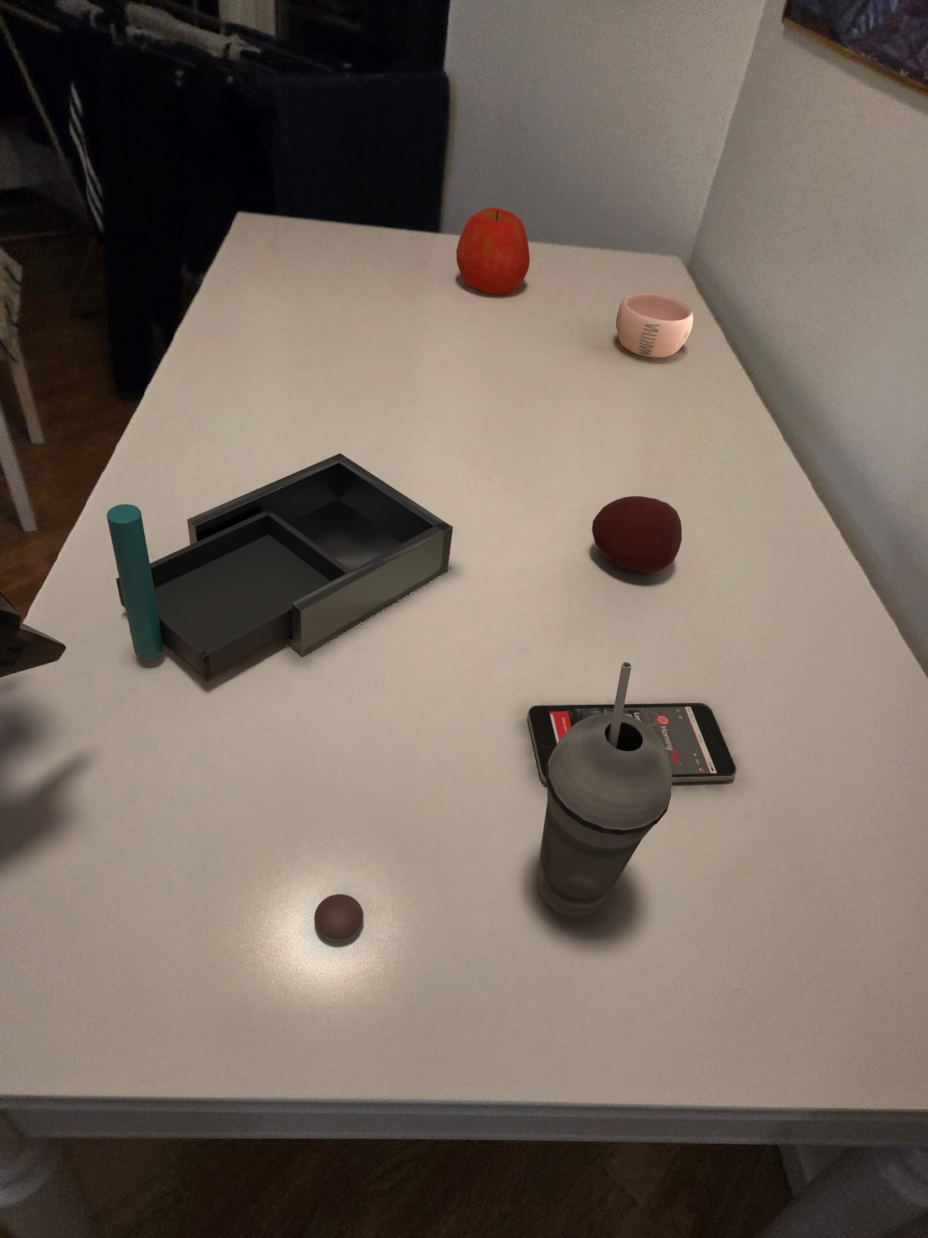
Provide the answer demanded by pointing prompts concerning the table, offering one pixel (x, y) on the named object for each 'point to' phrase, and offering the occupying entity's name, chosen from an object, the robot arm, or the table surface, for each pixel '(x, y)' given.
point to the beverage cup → (599, 805)
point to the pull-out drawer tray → (344, 542)
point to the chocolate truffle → (338, 917)
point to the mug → (653, 324)
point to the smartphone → (676, 724)
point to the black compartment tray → (216, 589)
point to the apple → (493, 251)
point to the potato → (638, 533)
